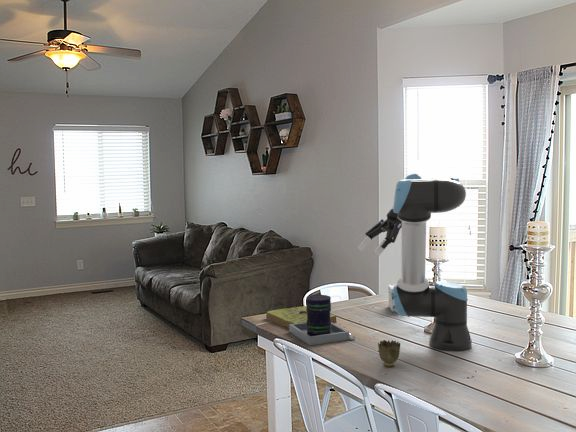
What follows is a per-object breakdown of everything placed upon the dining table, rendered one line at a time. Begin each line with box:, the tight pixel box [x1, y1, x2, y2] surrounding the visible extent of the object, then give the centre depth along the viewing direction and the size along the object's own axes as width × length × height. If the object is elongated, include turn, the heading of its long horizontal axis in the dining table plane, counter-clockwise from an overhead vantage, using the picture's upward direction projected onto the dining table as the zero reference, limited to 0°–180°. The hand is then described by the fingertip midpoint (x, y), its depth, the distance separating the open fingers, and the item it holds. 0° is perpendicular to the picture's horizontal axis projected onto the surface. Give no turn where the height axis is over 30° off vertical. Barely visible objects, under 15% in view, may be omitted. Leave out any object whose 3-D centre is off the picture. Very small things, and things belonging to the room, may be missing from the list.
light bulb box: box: [388, 284, 397, 313], centre depth 274 cm, size 11×7×11 cm, turn 179°
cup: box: [377, 339, 401, 368], centre depth 197 cm, size 8×7×8 cm
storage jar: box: [305, 294, 332, 336], centre depth 233 cm, size 10×10×15 cm
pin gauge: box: [349, 332, 356, 341], centre depth 231 cm, size 10×2×2 cm
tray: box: [288, 322, 350, 346], centre depth 233 cm, size 20×17×3 cm
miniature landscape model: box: [265, 305, 337, 329], centre depth 257 cm, size 22×24×5 cm
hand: (368, 251), depth 244 cm, fingers open, 13 cm apart
